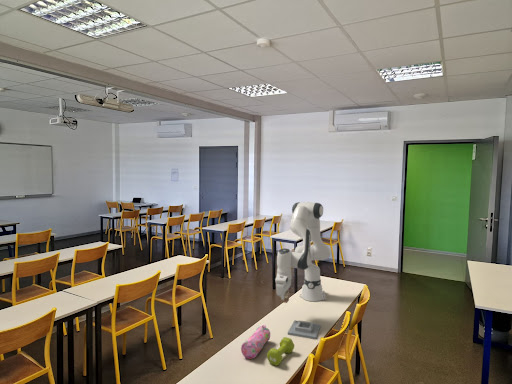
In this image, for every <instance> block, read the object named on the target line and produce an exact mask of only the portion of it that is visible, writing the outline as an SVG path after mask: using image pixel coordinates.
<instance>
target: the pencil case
mask: <svg viewBox="0 0 512 384" xmlns="http://www.w3.org/2000/svg"><path fill="white" fill-rule="evenodd" d="M270 339H271V330H270V329H269V328H268V327H267V325H266V324H264V325H263V324H262V325H260V326H258V327H257V328H256V330H255V331H254V332H253V334H251V335H250V336H249V338H248V339H247V340H245V341H244V342H243V343H242V344H241V347H240V350H241V354H242V355H243V357H244V358H245V359H246V360H247V359H249V360H251V359H255V358H256V357H257V355H258V354H259V353H260V352H261V351H262V349H263V348H264V345H266V343H267V342H268V341H269V340H270Z"/></svg>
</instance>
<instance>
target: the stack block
mask: <svg viewBox="0 0 512 384" xmlns="http://www.w3.org/2000/svg"><path fill="white" fill-rule="evenodd" d="M284 296H285V299H284V300H281V296H279V302H280V303H285V304H287V303H288V302H289V300H290V291H289V289H288V290H287V291H286V292H285V294H284Z"/></svg>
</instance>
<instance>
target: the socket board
mask: <svg viewBox="0 0 512 384" xmlns="http://www.w3.org/2000/svg"><path fill="white" fill-rule="evenodd" d="M321 325H322V324H319V323H314V322H312V321H304V320H294V321H293V322H292V324H291V325H290V328H289V329H288V331H287V335H289V336H295V337H299V338H300V337H301V338H306V339H312V340H316V339H317V338H318V335H319V332H320V330H321Z"/></svg>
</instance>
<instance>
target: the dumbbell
mask: <svg viewBox="0 0 512 384" xmlns="http://www.w3.org/2000/svg"><path fill="white" fill-rule="evenodd" d="M293 341H294V340H292V338H290V337H286V336H285V337H282V338H281V340H280V342H279V348H273V347H272V348H270V349H269V350H268V351H267V353H266V357H267V360H268V363H269V364H270V365H272V366H275V367H278V366H279V365H281V362H282V361H283V359H284V358H283V354H284V353H285V354H287V355H288V354H291V353H292V352H293V351H294V349H295V344H294V342H293Z"/></svg>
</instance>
